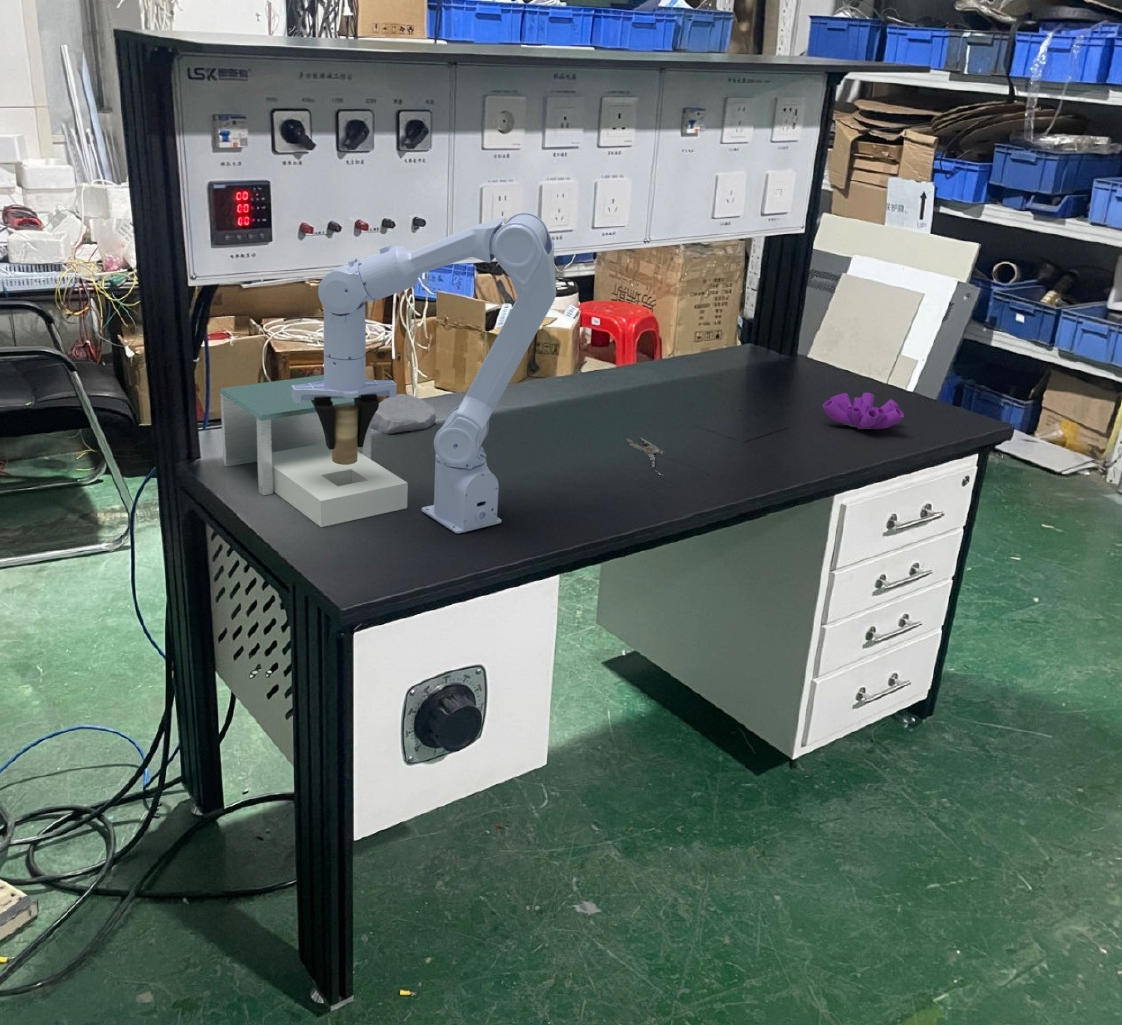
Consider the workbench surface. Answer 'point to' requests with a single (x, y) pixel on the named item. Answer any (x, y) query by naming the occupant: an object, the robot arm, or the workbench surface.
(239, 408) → the teal topped shelf
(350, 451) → the peg
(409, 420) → the stone block
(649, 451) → the pliers
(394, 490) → the socket block
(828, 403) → the purple tube coral
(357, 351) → the robot arm
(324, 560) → the workbench surface
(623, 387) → the workbench surface
